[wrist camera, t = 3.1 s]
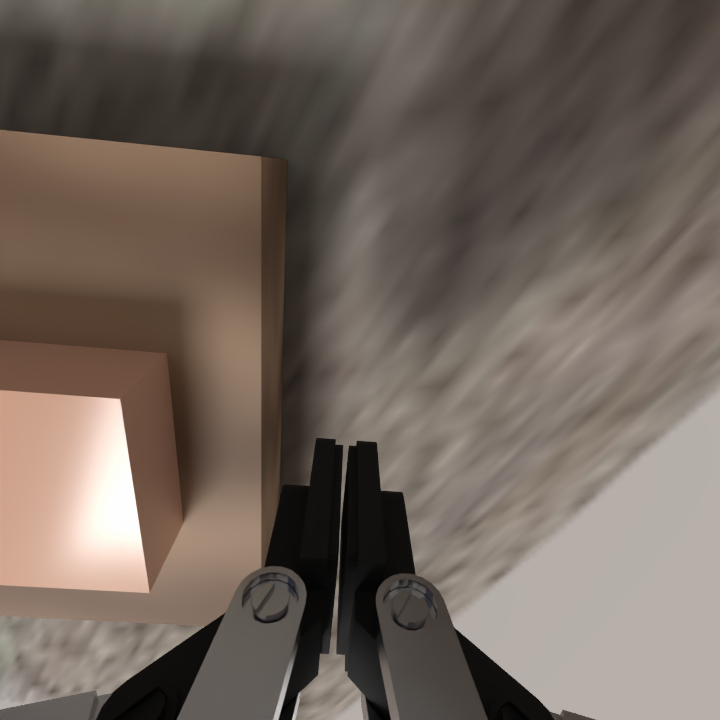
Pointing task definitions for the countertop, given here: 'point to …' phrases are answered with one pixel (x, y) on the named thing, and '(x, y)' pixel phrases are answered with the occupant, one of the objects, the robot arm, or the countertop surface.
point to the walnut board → (161, 334)
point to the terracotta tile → (86, 467)
